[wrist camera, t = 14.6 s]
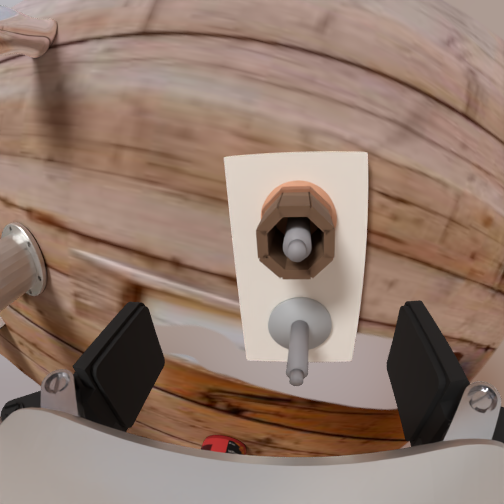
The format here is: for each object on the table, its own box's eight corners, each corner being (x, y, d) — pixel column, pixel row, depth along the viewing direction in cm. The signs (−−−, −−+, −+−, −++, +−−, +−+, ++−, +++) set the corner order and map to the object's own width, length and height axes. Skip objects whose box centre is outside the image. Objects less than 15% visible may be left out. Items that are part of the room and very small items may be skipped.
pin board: (350, 352, 31) (358, 417, 22) (249, 351, 33) (231, 414, 24) (363, 151, 22) (398, 160, 14) (228, 156, 25) (188, 167, 16)
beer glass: (66, 12, 19) (-20, -6, 6) (50, 59, 22) (-42, 55, 9) (38, 20, 20) (-40, 11, 6) (24, 63, 23) (-57, 64, 9)
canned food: (251, 454, 44) (240, 502, 34) (212, 451, 46) (197, 495, 36) (241, 435, 41) (227, 488, 31) (199, 432, 43) (180, 480, 33)
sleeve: (329, 249, 24) (336, 282, 19) (267, 249, 25) (256, 282, 20) (329, 185, 22) (338, 201, 17) (262, 187, 23) (249, 203, 18)
